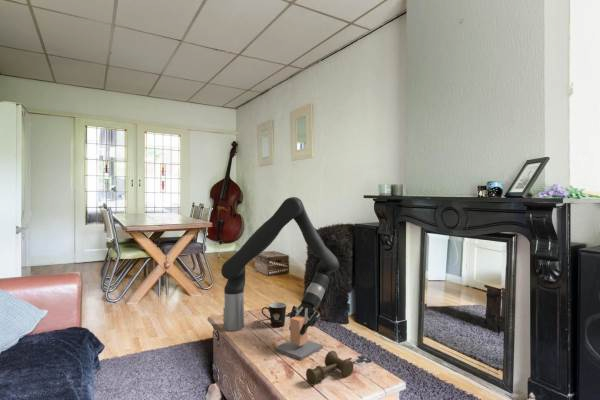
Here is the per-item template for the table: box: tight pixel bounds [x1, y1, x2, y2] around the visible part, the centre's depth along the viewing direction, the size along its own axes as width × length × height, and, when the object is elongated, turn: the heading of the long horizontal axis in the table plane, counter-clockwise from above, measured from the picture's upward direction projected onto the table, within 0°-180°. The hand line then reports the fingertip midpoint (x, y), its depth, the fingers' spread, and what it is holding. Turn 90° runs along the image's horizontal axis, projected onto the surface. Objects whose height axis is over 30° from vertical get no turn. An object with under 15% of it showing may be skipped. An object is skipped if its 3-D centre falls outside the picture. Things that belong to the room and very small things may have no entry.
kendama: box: [305, 350, 354, 386], centre depth 118 cm, size 6×10×20 cm
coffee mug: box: [261, 302, 287, 329], centre depth 167 cm, size 12×9×10 cm
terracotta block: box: [289, 315, 309, 346], centre depth 139 cm, size 5×5×10 cm
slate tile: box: [274, 340, 324, 361], centre depth 138 cm, size 14×14×1 cm
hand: (296, 332), depth 137 cm, fingers closed on terracotta block, 5 cm apart
